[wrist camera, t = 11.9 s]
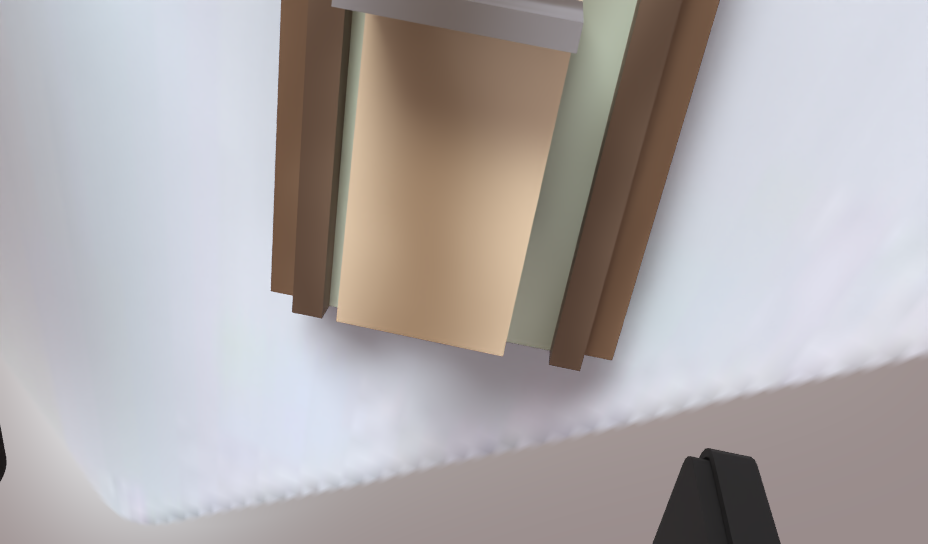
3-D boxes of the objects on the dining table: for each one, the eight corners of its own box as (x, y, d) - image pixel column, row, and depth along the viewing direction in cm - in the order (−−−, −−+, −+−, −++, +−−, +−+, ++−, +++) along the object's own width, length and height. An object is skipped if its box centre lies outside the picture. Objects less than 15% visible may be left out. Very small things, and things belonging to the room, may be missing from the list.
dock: (739, -149, 25) (775, -156, 21) (608, 310, 34) (613, 377, 29) (329, -219, 26) (275, -240, 21) (302, 248, 34) (260, 305, 30)
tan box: (581, -31, 24) (583, 22, 15) (519, 252, 28) (492, 421, 19) (424, -61, 24) (334, -26, 15) (388, 225, 28) (304, 380, 20)
